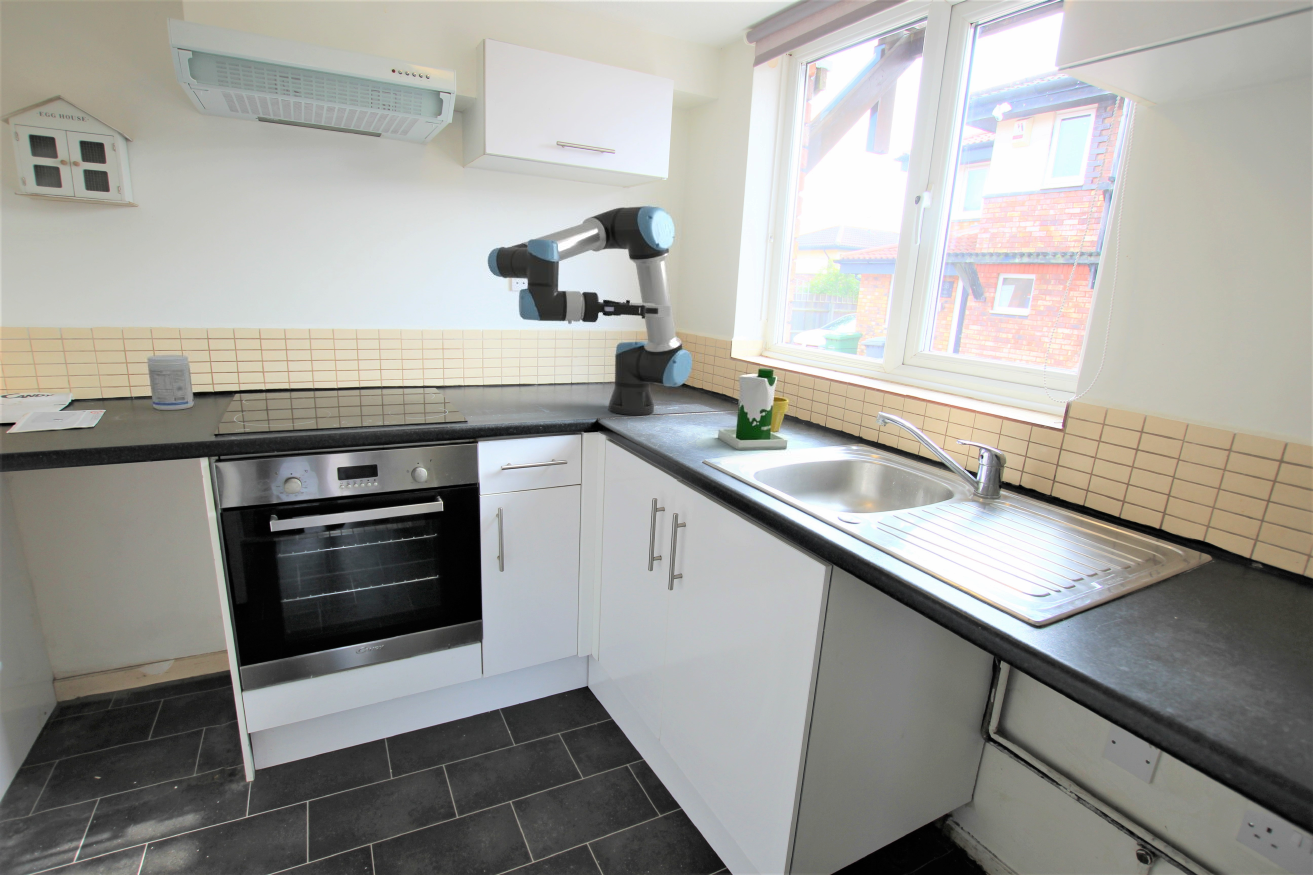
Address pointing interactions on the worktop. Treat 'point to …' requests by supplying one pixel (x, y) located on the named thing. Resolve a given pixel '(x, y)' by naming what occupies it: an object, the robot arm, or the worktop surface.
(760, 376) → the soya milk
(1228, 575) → the worktop surface
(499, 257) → the robot arm
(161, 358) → the supplement tub
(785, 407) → the plant pot
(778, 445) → the sage tray
